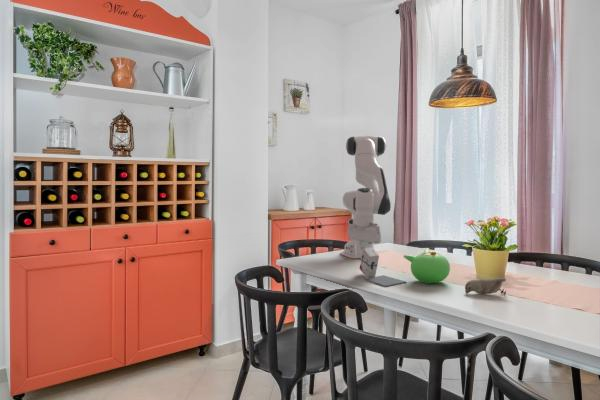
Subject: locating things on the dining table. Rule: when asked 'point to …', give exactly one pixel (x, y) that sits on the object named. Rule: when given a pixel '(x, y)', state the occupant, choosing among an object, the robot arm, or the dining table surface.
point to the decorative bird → (485, 286)
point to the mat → (384, 281)
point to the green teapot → (429, 266)
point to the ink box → (369, 262)
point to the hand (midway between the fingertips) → (363, 250)
